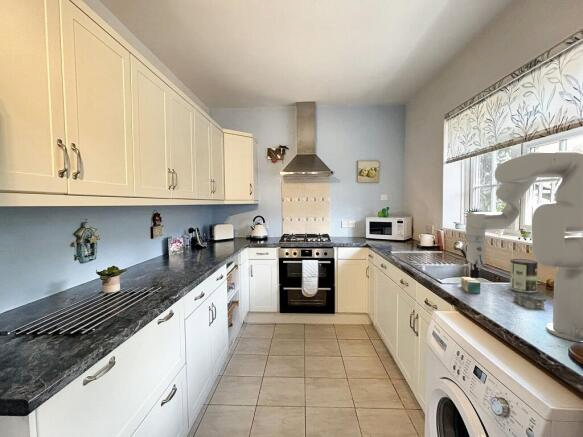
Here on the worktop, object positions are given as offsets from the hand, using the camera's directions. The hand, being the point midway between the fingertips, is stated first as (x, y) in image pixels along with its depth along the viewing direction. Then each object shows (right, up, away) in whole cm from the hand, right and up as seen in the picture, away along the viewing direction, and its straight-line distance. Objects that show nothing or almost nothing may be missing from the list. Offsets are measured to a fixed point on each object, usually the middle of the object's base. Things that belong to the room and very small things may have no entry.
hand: (474, 277), depth 134 cm
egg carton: (+12, -8, -15) cm, 21 cm away
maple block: (0, -5, 0) cm, 5 cm away
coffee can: (+26, -7, +4) cm, 28 cm away
